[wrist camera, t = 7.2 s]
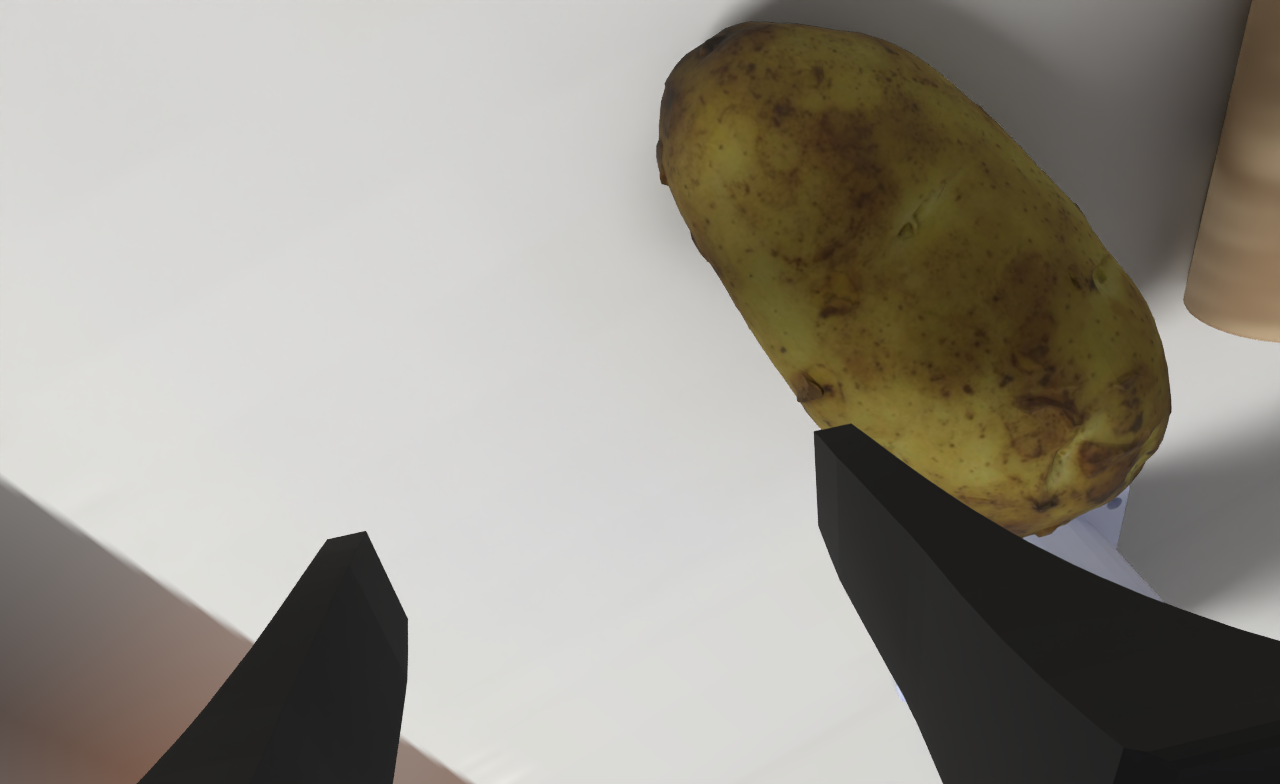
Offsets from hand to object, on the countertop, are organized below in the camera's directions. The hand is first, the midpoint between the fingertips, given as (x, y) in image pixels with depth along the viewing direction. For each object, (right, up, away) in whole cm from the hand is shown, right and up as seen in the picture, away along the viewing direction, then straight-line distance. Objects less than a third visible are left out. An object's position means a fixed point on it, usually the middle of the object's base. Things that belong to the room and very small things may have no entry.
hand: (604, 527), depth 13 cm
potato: (+6, +7, +8) cm, 13 cm away
